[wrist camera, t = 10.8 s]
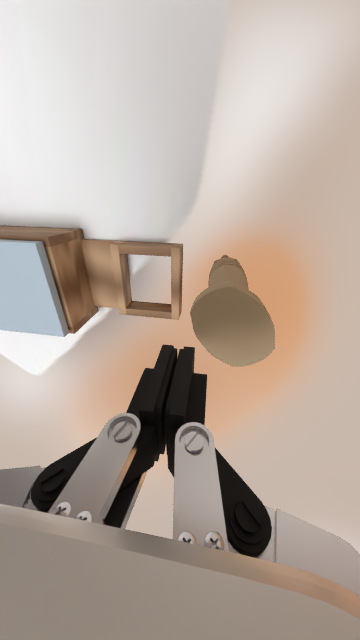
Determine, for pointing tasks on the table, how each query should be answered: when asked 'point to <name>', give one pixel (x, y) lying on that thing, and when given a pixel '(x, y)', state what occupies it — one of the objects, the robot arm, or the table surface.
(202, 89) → the table surface
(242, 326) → the handle
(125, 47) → the table surface
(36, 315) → the lid
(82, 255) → the toolbox
